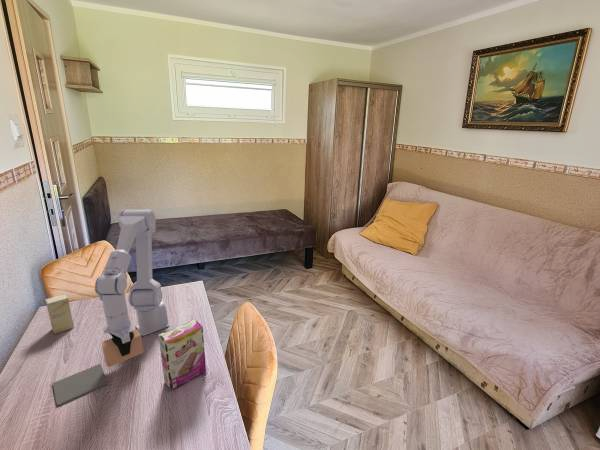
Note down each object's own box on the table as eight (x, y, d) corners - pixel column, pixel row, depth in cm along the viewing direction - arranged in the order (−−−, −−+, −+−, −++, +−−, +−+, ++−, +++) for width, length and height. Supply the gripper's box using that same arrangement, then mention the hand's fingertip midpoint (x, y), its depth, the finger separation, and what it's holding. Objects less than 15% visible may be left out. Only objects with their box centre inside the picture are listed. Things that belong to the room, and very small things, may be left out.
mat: (100, 364, 101) (100, 363, 100) (108, 383, 93) (108, 382, 93) (53, 384, 93) (52, 383, 93) (57, 406, 86) (57, 405, 86)
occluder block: (139, 345, 104) (136, 328, 102) (143, 352, 102) (140, 334, 100) (104, 360, 98) (100, 342, 96) (107, 367, 95) (104, 349, 93)
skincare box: (54, 334, 115) (46, 304, 111) (52, 328, 118) (44, 299, 114) (75, 327, 119) (68, 297, 115) (72, 321, 122) (65, 293, 118)
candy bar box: (171, 392, 91) (164, 343, 86) (164, 382, 94) (157, 334, 89) (207, 371, 98) (203, 325, 93) (199, 363, 102) (194, 318, 97)
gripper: (95, 306, 98) (103, 344, 102) (106, 329, 87) (115, 370, 92) (121, 298, 102) (127, 335, 106) (135, 319, 92) (141, 358, 96)
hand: (123, 350), depth 99 cm, fingers closed on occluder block, 4 cm apart
